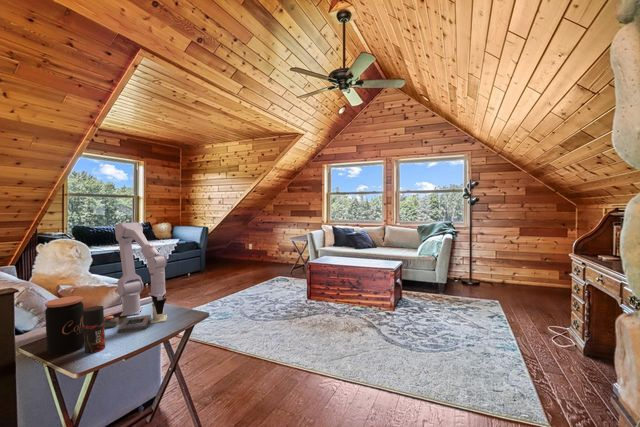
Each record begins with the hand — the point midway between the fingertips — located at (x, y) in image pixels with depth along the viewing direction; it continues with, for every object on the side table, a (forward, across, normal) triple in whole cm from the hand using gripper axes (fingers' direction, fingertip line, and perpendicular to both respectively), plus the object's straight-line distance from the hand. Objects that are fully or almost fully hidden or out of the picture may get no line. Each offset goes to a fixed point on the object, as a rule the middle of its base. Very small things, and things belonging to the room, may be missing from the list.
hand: (159, 312), depth 140 cm
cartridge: (+3, 0, 0) cm, 3 cm away
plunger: (+3, -5, -19) cm, 20 cm away
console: (+3, -5, -19) cm, 20 cm away
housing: (+3, +1, -9) cm, 10 cm away
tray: (+3, 0, 0) cm, 3 cm away
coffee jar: (+4, +13, -31) cm, 34 cm away
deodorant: (+4, +20, -22) cm, 30 cm away
